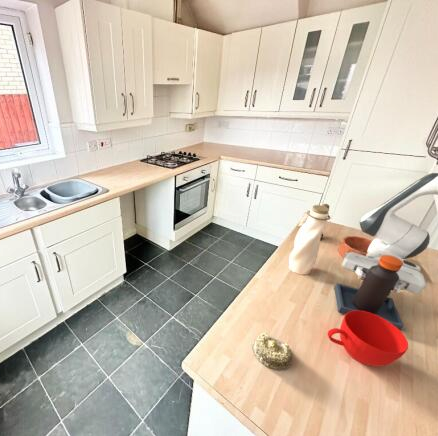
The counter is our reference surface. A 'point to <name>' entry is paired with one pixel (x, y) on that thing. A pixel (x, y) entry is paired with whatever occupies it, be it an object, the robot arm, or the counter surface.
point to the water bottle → (308, 239)
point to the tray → (346, 305)
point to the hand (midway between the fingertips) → (378, 283)
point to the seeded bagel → (272, 352)
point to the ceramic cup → (370, 338)
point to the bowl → (354, 245)
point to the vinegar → (377, 284)
